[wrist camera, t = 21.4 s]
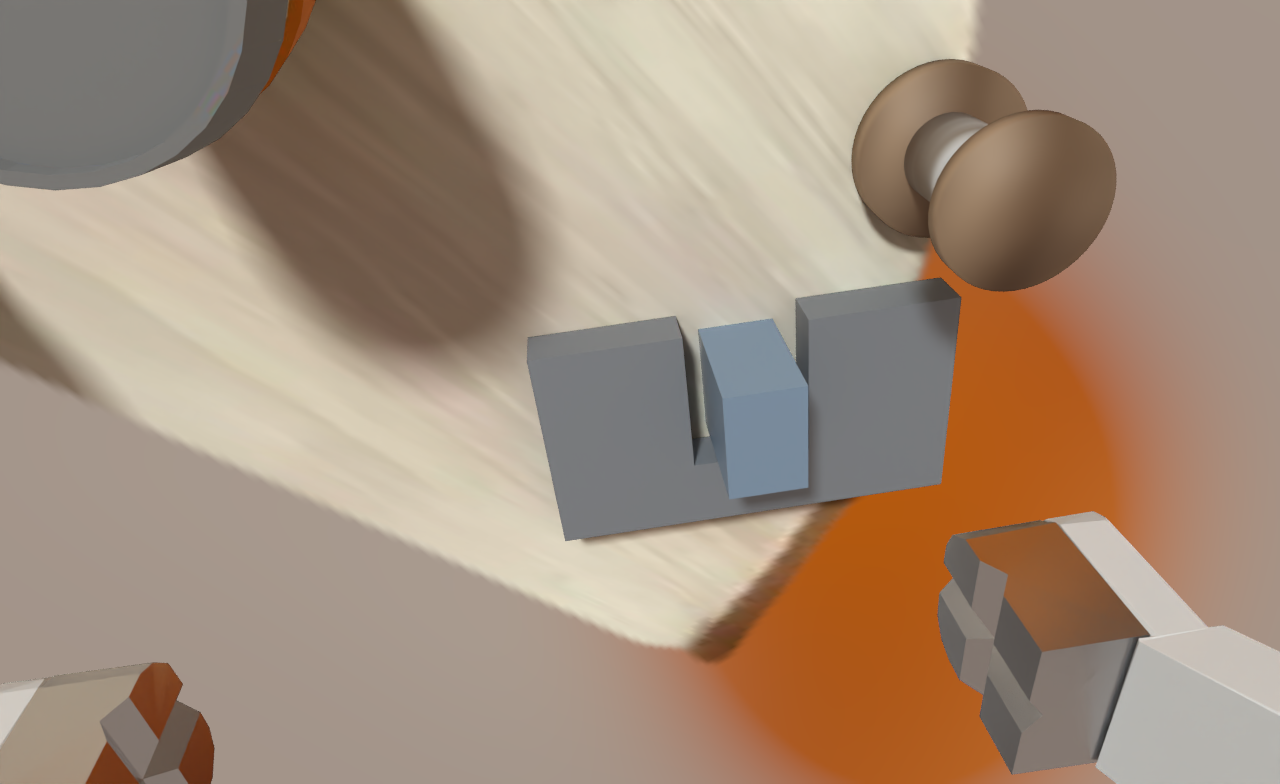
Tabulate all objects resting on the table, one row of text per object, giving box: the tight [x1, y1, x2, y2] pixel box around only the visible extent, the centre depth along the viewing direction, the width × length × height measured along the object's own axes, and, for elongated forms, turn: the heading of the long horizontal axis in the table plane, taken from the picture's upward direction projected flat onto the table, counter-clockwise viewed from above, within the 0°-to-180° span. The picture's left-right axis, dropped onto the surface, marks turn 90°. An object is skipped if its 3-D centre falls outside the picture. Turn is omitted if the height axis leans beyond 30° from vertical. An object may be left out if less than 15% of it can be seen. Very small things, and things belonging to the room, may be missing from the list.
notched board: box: [527, 278, 961, 541], centre depth 45 cm, size 22×12×2 cm, turn 97°
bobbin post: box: [852, 59, 1116, 291], centre depth 35 cm, size 8×8×9 cm
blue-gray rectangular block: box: [698, 319, 808, 500], centre depth 42 cm, size 4×6×7 cm, turn 6°
